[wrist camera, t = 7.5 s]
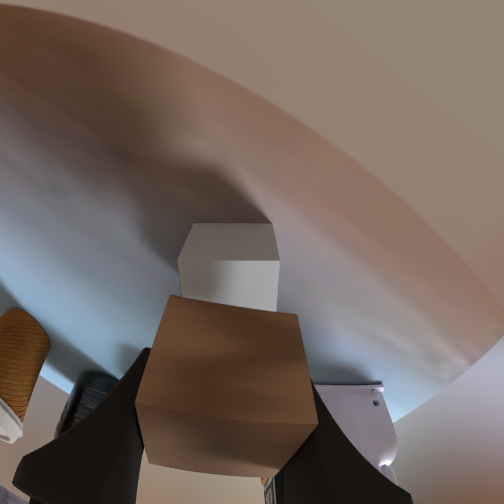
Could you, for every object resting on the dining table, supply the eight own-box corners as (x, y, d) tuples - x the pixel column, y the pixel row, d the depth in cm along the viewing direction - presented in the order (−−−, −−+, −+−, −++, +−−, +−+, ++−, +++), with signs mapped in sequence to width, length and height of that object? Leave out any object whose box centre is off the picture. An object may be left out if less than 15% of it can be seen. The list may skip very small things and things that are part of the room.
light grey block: (272, 222, 19) (279, 260, 14) (269, 288, 21) (274, 337, 17) (193, 222, 19) (177, 260, 14) (199, 288, 21) (188, 335, 16)
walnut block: (297, 314, 11) (318, 423, 7) (267, 388, 14) (273, 477, 9) (170, 294, 11) (134, 402, 7) (168, 374, 13) (148, 463, 9)
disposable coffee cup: (36, 293, 21) (-34, 386, 10) (76, 366, 26) (36, 457, 15) (-15, 294, 22) (-73, 365, 11) (23, 358, 26) (-18, 430, 15)
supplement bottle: (69, 376, 27) (32, 460, 16) (99, 362, 25) (59, 463, 14) (111, 410, 29) (87, 491, 18) (146, 400, 28) (123, 496, 17)
